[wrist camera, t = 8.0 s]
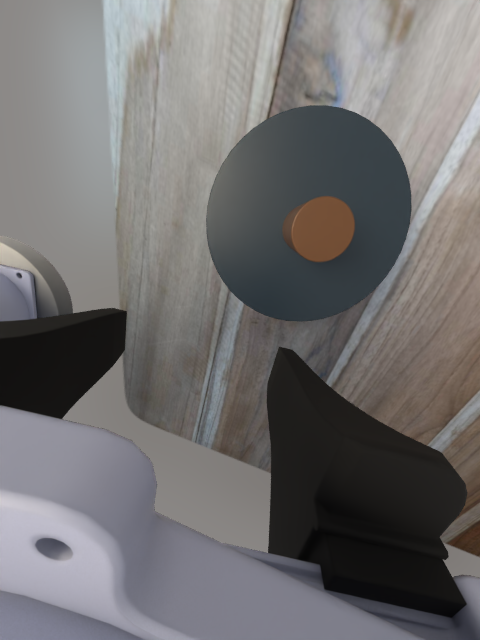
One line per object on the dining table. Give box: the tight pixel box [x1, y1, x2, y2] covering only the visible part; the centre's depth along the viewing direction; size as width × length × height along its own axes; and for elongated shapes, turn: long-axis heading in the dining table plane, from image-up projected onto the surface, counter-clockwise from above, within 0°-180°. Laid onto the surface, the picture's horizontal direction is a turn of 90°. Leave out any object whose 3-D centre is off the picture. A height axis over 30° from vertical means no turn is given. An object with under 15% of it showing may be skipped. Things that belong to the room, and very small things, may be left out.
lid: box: [206, 106, 411, 321], centre depth 12 cm, size 11×11×5 cm
